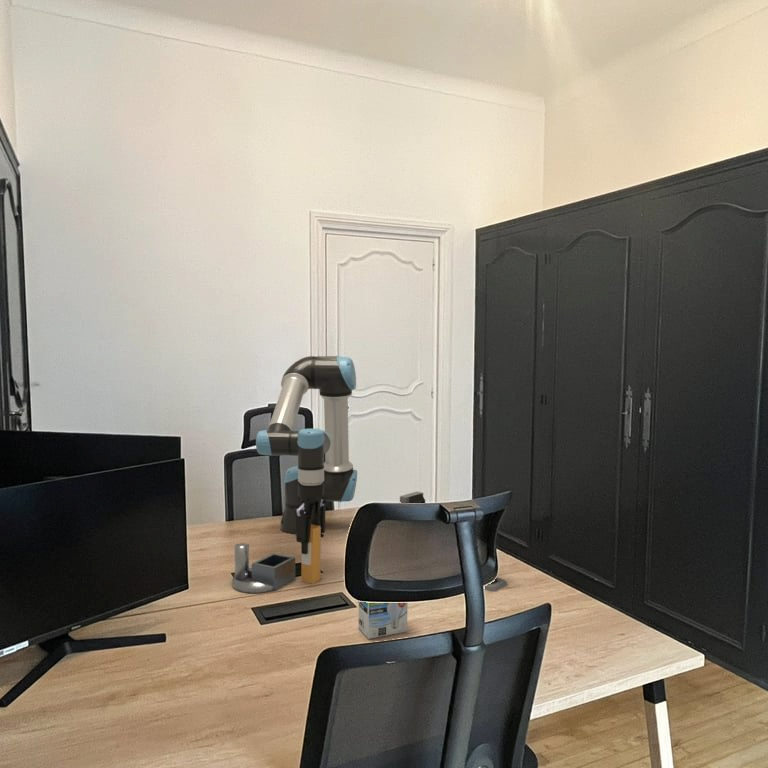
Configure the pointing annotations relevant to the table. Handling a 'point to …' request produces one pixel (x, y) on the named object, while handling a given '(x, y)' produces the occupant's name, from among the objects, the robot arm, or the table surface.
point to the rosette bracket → (261, 571)
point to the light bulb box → (382, 618)
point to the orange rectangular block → (313, 557)
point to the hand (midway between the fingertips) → (311, 561)
